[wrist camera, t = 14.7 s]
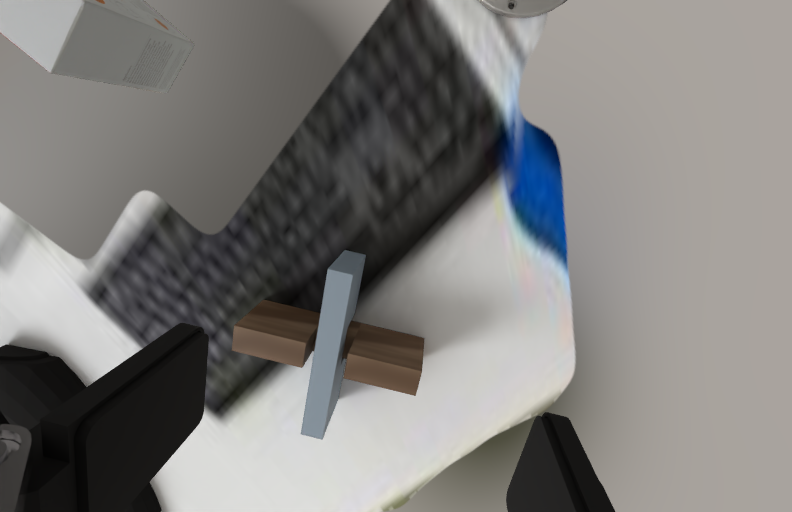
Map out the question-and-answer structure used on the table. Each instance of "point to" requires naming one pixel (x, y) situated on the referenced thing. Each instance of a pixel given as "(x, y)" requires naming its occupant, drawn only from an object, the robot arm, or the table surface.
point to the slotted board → (364, 350)
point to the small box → (98, 40)
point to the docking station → (45, 397)
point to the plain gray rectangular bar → (332, 341)
